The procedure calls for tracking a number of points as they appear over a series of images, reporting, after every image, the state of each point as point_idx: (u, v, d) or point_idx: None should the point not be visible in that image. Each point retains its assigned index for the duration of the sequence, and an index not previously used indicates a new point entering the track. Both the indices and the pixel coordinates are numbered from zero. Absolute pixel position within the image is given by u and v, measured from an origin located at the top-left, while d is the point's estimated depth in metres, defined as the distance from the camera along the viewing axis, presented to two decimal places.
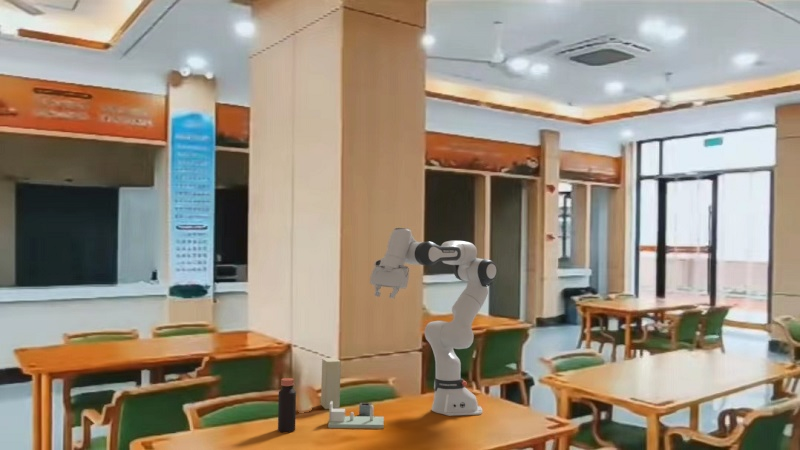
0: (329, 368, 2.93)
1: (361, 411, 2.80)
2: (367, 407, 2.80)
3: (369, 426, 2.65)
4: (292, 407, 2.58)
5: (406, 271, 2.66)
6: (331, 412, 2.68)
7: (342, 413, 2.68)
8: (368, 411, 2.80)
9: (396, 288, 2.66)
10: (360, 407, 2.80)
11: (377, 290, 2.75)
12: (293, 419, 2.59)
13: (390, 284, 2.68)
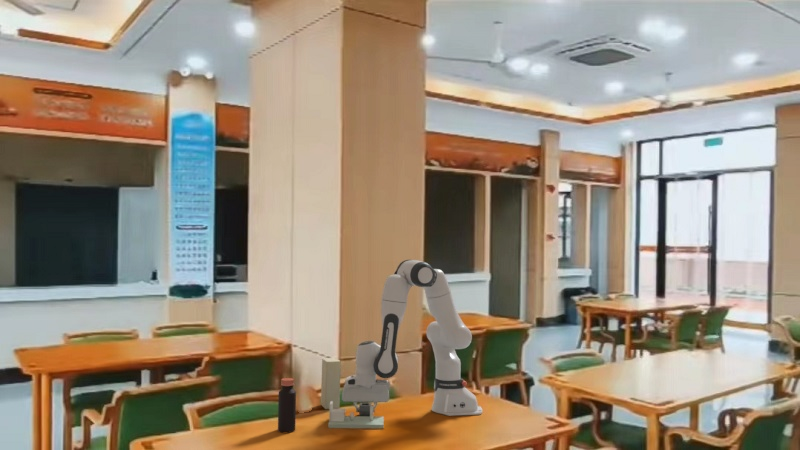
0: (329, 368, 2.93)
1: (361, 411, 2.80)
2: (367, 407, 2.80)
3: (369, 426, 2.65)
4: (292, 407, 2.58)
5: (388, 385, 2.83)
6: (331, 412, 2.68)
7: (342, 413, 2.68)
8: (368, 411, 2.80)
9: None
10: (360, 407, 2.80)
11: (356, 406, 2.83)
12: (293, 419, 2.59)
13: (374, 401, 2.81)
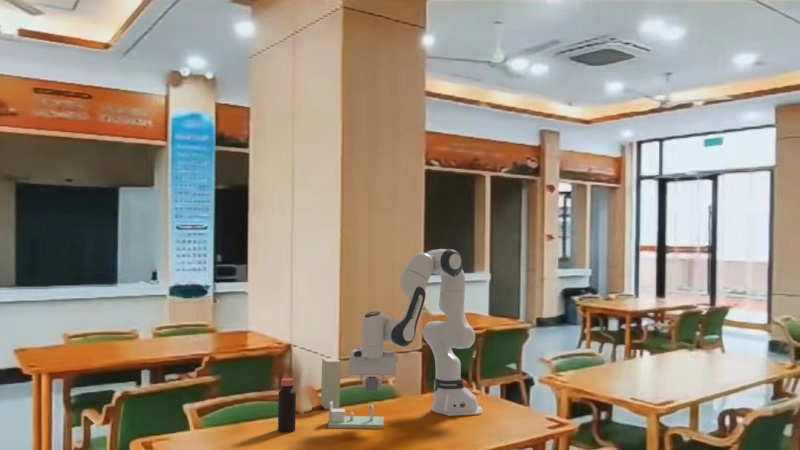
0: (329, 368, 2.93)
1: (368, 385, 2.69)
2: (374, 380, 2.69)
3: (369, 426, 2.65)
4: (292, 407, 2.58)
5: (396, 358, 2.71)
6: (331, 412, 2.68)
7: (342, 413, 2.68)
8: (375, 384, 2.69)
9: None
10: (366, 380, 2.69)
11: None
12: (293, 419, 2.59)
13: (381, 374, 2.69)
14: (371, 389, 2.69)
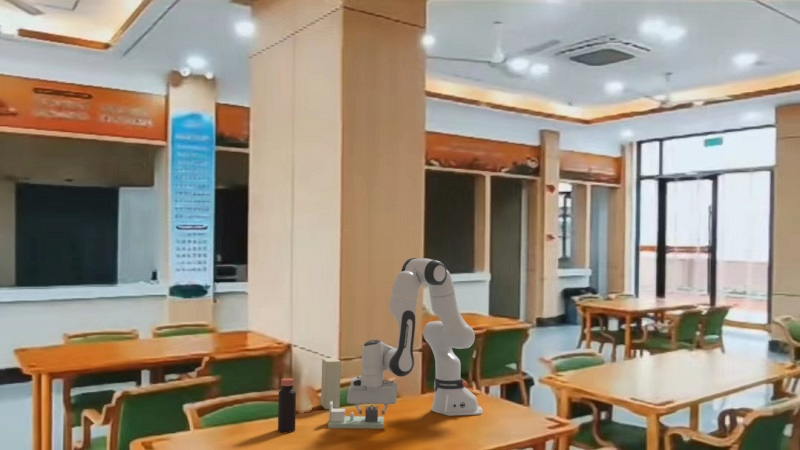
0: (329, 368, 2.93)
1: (368, 416, 2.68)
2: (373, 411, 2.68)
3: (369, 426, 2.65)
4: (292, 407, 2.58)
5: (395, 386, 2.71)
6: (331, 412, 2.68)
7: (342, 413, 2.68)
8: (375, 415, 2.68)
9: (387, 404, 2.71)
10: (366, 411, 2.68)
11: (359, 408, 2.71)
12: (293, 419, 2.59)
13: (381, 402, 2.69)
14: (371, 420, 2.68)
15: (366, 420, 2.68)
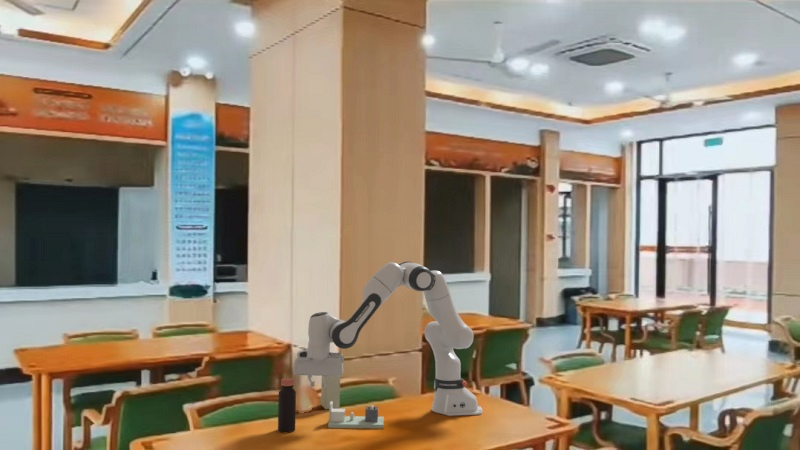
0: None
1: (368, 416, 2.68)
2: (373, 411, 2.68)
3: (369, 426, 2.65)
4: (292, 407, 2.58)
5: (342, 358, 2.71)
6: (331, 412, 2.68)
7: (342, 413, 2.68)
8: (375, 415, 2.68)
9: (328, 376, 2.71)
10: (366, 411, 2.68)
11: (311, 380, 2.71)
12: (293, 419, 2.59)
13: (327, 374, 2.69)
14: (371, 420, 2.68)
15: (366, 420, 2.68)
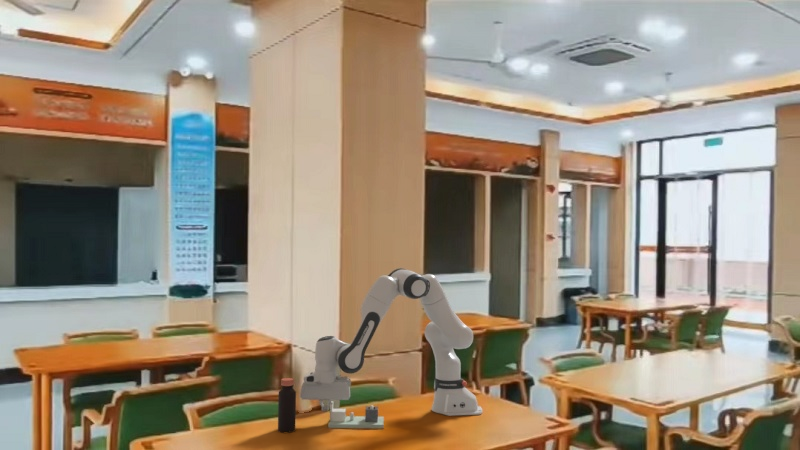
0: None
1: (368, 416, 2.68)
2: (373, 411, 2.68)
3: (369, 426, 2.65)
4: (292, 407, 2.58)
5: (349, 382, 2.71)
6: (332, 412, 2.68)
7: (343, 413, 2.68)
8: (375, 415, 2.68)
9: (331, 400, 2.71)
10: (366, 411, 2.68)
11: (322, 404, 2.71)
12: (293, 419, 2.59)
13: (334, 398, 2.69)
14: (371, 420, 2.68)
15: (366, 420, 2.68)
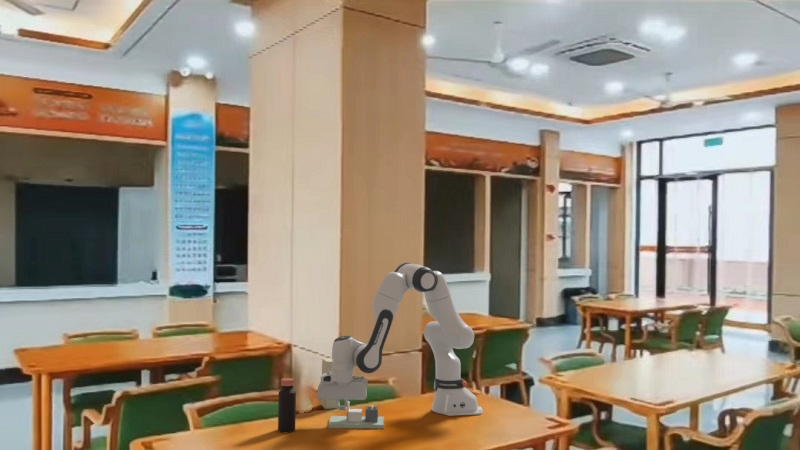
0: (329, 368, 2.93)
1: (368, 416, 2.68)
2: (373, 411, 2.68)
3: (369, 426, 2.65)
4: (292, 407, 2.58)
5: (365, 382, 2.71)
6: (348, 412, 2.68)
7: (359, 413, 2.68)
8: (375, 415, 2.68)
9: (347, 400, 2.71)
10: (366, 411, 2.68)
11: (339, 404, 2.71)
12: (293, 419, 2.59)
13: (351, 398, 2.69)
14: (371, 420, 2.68)
15: (366, 420, 2.68)
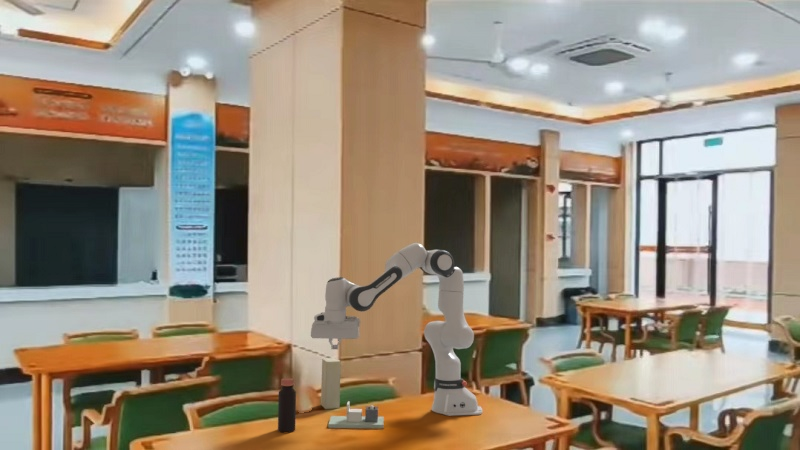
0: (329, 368, 2.93)
1: (368, 416, 2.68)
2: (373, 411, 2.68)
3: (369, 426, 2.65)
4: (292, 407, 2.58)
5: (358, 322, 2.78)
6: (348, 412, 2.68)
7: (359, 413, 2.68)
8: (375, 415, 2.68)
9: None
10: (366, 411, 2.68)
11: (332, 343, 2.78)
12: (293, 419, 2.59)
13: (343, 337, 2.76)
14: (371, 420, 2.68)
15: (366, 420, 2.68)
